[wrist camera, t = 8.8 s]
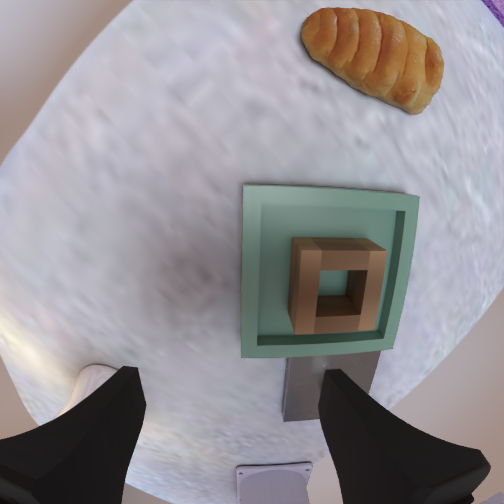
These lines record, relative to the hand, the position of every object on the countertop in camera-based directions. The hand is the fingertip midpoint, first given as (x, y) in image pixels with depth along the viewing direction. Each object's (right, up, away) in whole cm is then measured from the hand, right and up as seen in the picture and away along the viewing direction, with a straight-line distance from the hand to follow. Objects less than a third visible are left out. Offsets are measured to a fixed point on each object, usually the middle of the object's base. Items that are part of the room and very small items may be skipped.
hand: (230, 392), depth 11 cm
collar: (+6, +4, +9) cm, 11 cm away
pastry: (+9, +18, +6) cm, 21 cm away
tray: (+6, +4, +9) cm, 12 cm away
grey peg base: (+7, -5, +12) cm, 15 cm away
